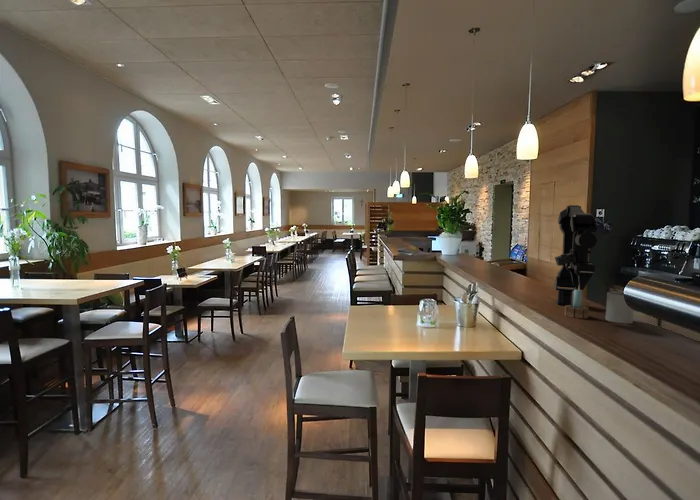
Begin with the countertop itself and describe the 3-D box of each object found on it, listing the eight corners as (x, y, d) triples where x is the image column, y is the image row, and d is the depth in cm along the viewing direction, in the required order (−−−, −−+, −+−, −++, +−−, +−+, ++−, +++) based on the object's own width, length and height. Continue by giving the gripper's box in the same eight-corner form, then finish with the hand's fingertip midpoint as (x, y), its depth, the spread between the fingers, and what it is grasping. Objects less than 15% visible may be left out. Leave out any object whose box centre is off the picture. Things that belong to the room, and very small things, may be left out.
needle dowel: (571, 314, 157) (573, 289, 157) (579, 315, 157) (581, 289, 156) (573, 316, 155) (574, 290, 154) (581, 317, 154) (583, 291, 153)
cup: (626, 318, 153) (627, 292, 152) (637, 324, 145) (639, 296, 144) (601, 317, 155) (603, 291, 154) (611, 322, 147) (613, 295, 146)
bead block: (562, 313, 160) (563, 304, 160) (584, 314, 158) (585, 305, 158) (567, 317, 153) (568, 308, 153) (590, 319, 151) (590, 309, 151)
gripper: (552, 245, 165) (550, 283, 166) (562, 247, 147) (560, 290, 148) (583, 246, 162) (580, 285, 163) (597, 249, 144) (594, 292, 145)
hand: (578, 288), depth 155 cm, fingers open, 9 cm apart
